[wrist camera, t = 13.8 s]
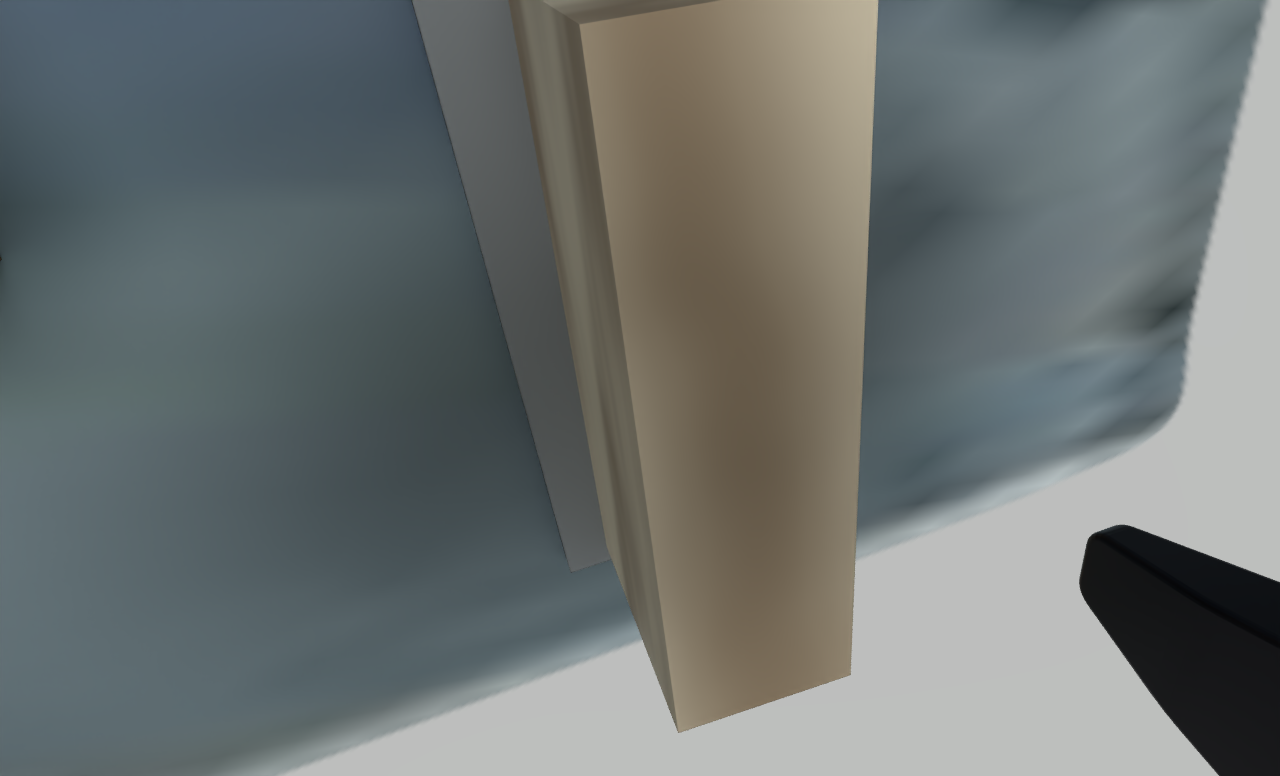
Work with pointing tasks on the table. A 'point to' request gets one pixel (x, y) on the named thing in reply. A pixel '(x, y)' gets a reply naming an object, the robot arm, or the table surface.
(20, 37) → the table surface
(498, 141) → the pad
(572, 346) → the block
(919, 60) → the table surface
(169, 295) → the table surface
